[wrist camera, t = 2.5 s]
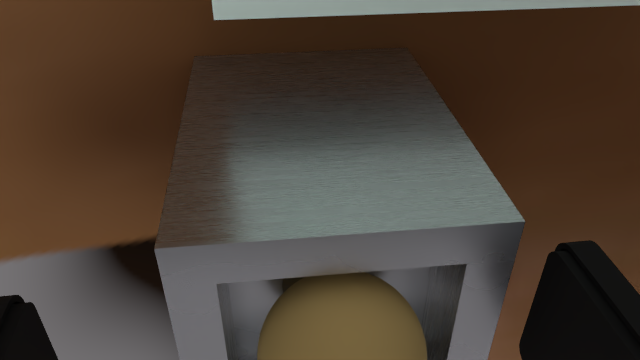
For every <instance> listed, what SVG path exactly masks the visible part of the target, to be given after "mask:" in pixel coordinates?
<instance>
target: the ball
mask: <svg viewBox="0 0 640 360" xmlns="http://www.w3.org/2000/svg"><path fill="white" fill-rule="evenodd" d="M257 360H427V348H426V341H425V337H424V333H423V330H422V327H421V324H420V322H419V320H418V317H417V315H416V314H415V312H414V310H413V309H412V307H411V306H410V304H409V303H408V302H407V300H406V299H405V298H404V297H403V296H402V295H401V294H400V293H399V292H398V291H397V290H396V289H395V288H394V287H392V286H391V285H390V284H388V283H387V282H385V281H384V280H382V279H380V278H378V277H376V276H374V275H371V274H369V273H366V272H358V273H346V274H333V275H321V276H309V277H304V278H302V279H301V280H299V281H297V282H296V283H294V284H293V285H292V286H290V287H289V288H288V289H287V290H286V291H285V292H284V293H283V294H282V295H281V296H280V297H279V298H278V299H277V300H276V302H275V303H274V305H273V306H272V308H271V309H270V311H269V313H268V314H267V316H266V319H265V321H264V324H263V326H262V329H261V332H260V337H259V342H258V350H257Z"/></svg>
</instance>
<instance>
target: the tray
mask: <svg viewBox="0 0 640 360" xmlns="http://www.w3.org/2000/svg"><path fill="white" fill-rule="evenodd" d="M631 5H640V0H212V7H213V16H214V20H231V19H260V18H288V17H317V16H346V15H374V14H403V13H431V12H460V11H488V10H517V9H545V8H574V7H602V6H631Z"/></svg>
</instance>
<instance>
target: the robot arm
mask: <svg viewBox="0 0 640 360" xmlns="http://www.w3.org/2000/svg"><path fill="white" fill-rule="evenodd" d="M519 348H520V354H521V358H522V360H640V295H639V294H638V292H637V291H636V290H635V289H634V288H633V286H632V285H631V284H630V283H629V282H628V280H627V279H626V278H625V277H624V276H623V274H622V273H621V272H620V271H619V270H618V268H617V267H616V266H615V265H614V264H613V262H612V261H611V260H610V259H609V258H608V256H607V255H606V254H605V253H604V252H603V250H602V249H601V248H600V247H599V246H598V245H597V244H596V243H595V242H593V241H590V240H589V241H579V242H568V243H560V244H559V245H558V246H557V247H556V249H555V252H551V253H549V255H548V257H547V260H546V263H545V266H544V269H543V272H542V276H541V279H540V282H539V285H538V288H537V291H536V294H535V297H534V300H533V303H532V306H531V309H530V312H529V315H528V318H527V321H526V324H525V327H524V330H523V334H522V337H521V340H520V344H519ZM0 360H58V358H57V356H56V353H55V351H54V349H53V347H52V345H51V342H50V340H49V337H48V335H47V333H46V331H45V328H44V326H43V324H42V321H41V319H40V317H39V315H38V312H37V310H36V308H35V306H34V304H33V303H31V302H28V303H25V302H24V300H23V299H22V297H20V296H19V295H12V296H2V297H0Z"/></svg>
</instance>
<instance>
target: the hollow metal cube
mask: <svg viewBox="0 0 640 360" xmlns="http://www.w3.org/2000/svg"><path fill="white" fill-rule="evenodd" d="M524 224H525V220H524V219H523V217H522V216H521V214H520V213H519V211H518V210H517V209H516V207H515V206H514V204H513V203H512V201H511V200H510V198H509V197H508V195H507V194H506V192H505V191H504V189H503V188H502V186H501V185H500V184H499V182H498V181H497V179H496V178H495V176H494V175H493V173H492V172H491V170H490V169H489V167H488V166H487V164H486V163H485V162H484V160H483V159H482V157H481V156H480V154H479V153H478V151H477V150H476V148H475V147H474V145H473V144H472V142H471V141H470V139H469V138H468V137H467V135H466V134H465V132H464V131H463V129H462V128H461V126H460V125H459V123H458V122H457V120H456V119H455V117H454V116H453V114H452V113H451V112H450V110H449V109H448V107H447V106H446V104H445V103H444V101H443V100H442V98H441V97H440V95H439V94H438V92H437V91H436V89H435V88H434V87H433V85H432V84H431V82H430V81H429V79H428V78H427V76H426V75H425V73H424V72H423V70H422V69H421V67H420V66H419V64H418V63H417V62H416V60H415V59H414V57H413V56H412V54H411V53H410V51H409V50H408V48H384V49H360V50H335V51H311V52H287V53H263V54H239V55H214V56H194V61H193V66H192V70H191V75H190V80H189V85H188V90H187V94H186V99H185V104H184V109H183V114H182V118H181V123H180V128H179V133H178V138H177V142H176V147H175V152H174V157H173V162H172V166H171V171H170V176H169V181H168V186H167V191H166V195H165V200H164V205H163V210H162V215H161V219H160V224H159V229H158V234H157V239H156V244H155V254H156V257H157V263H158V267H159V271H160V275H161V280H162V283H163V289H164V293H165V297H166V301H167V305H168V310H169V314H170V319H171V323H172V327H173V332H174V336H175V341H176V345H177V349H178V354H179V358H180V360H257V350H258V342H259V337H260V332H261V329H262V326H263V324H264V321H265V319H266V316H267V314H268V313H269V311H270V309H271V308H272V306H273V305H274V303H275V302H276V300H277V299H278V298H279V297H280V296H281V295H282V294H283V293H284V292H285V291H286V290H287V289H288V288H289V287H290V286H292V285H293V284H294V283H296V282H297V281H299V280H301V279H302V278H304V277H309V276H321V275H333V274H346V273H358V272H366V273H369V274H371V275H374V276H376V277H378V278H380V279H382V280H384V281H385V282H387V283H388V284H390V285H391V286H392V287H394V288H395V289H396V290H397V291H398V292H399V293H400V294H401V295H402V296H403V297H404V298H405V299H406V300H407V302H408V303H409V304H410V306H411V307H412V309H413V310H414V312H415V314H416V315H417V317H418V320H419V322H420V324H421V327H422V330H423V333H424V337H425V341H426V348H427V360H487V358H488V355H489V351H490V348H491V344H492V340H493V337H494V333H495V329H496V326H497V322H498V319H499V315H500V311H501V308H502V304H503V300H504V297H505V293H506V290H507V286H508V282H509V279H510V275H511V271H512V268H513V264H514V261H515V257H516V253H517V250H518V246H519V242H520V239H521V235H522V232H523V228H524Z"/></svg>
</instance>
